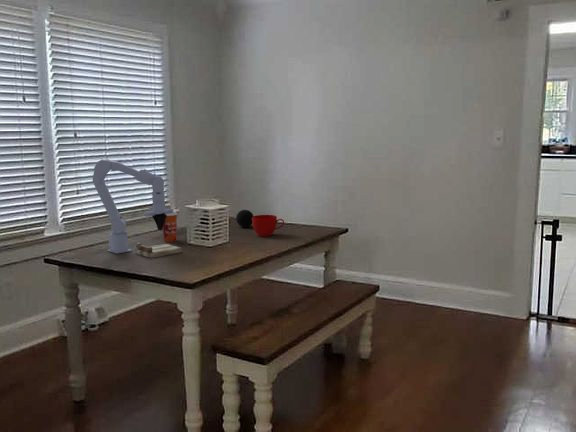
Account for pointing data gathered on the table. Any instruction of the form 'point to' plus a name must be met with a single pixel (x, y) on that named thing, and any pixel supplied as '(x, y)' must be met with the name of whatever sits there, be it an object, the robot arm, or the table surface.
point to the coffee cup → (170, 227)
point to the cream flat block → (160, 250)
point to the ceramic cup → (265, 224)
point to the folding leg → (143, 247)
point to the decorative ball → (244, 218)
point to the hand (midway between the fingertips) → (160, 229)
